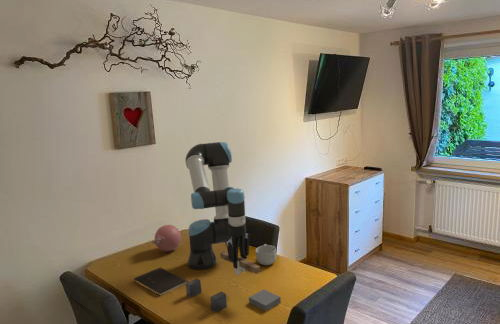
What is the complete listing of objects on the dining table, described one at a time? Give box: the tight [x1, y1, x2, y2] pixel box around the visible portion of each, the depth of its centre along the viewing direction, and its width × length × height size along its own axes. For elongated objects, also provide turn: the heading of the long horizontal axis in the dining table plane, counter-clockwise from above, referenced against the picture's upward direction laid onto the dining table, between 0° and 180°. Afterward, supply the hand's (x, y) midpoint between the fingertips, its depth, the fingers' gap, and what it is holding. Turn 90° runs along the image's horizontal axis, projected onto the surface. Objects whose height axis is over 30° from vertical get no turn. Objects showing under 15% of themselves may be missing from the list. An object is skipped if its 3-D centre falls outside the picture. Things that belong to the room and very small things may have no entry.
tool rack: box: [185, 278, 228, 314], centre depth 168 cm, size 21×6×6 cm, turn 44°
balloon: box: [151, 224, 182, 252], centre depth 223 cm, size 15×20×15 cm
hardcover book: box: [133, 267, 189, 296], centre depth 188 cm, size 16×23×2 cm
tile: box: [248, 288, 282, 312], centre depth 164 cm, size 3×9×10 cm
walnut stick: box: [219, 250, 261, 275], centre depth 173 cm, size 24×2×2 cm, turn 44°
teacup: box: [254, 243, 277, 266], centre depth 204 cm, size 14×11×8 cm
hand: (240, 272), depth 174 cm, fingers closed on walnut stick, 2 cm apart
